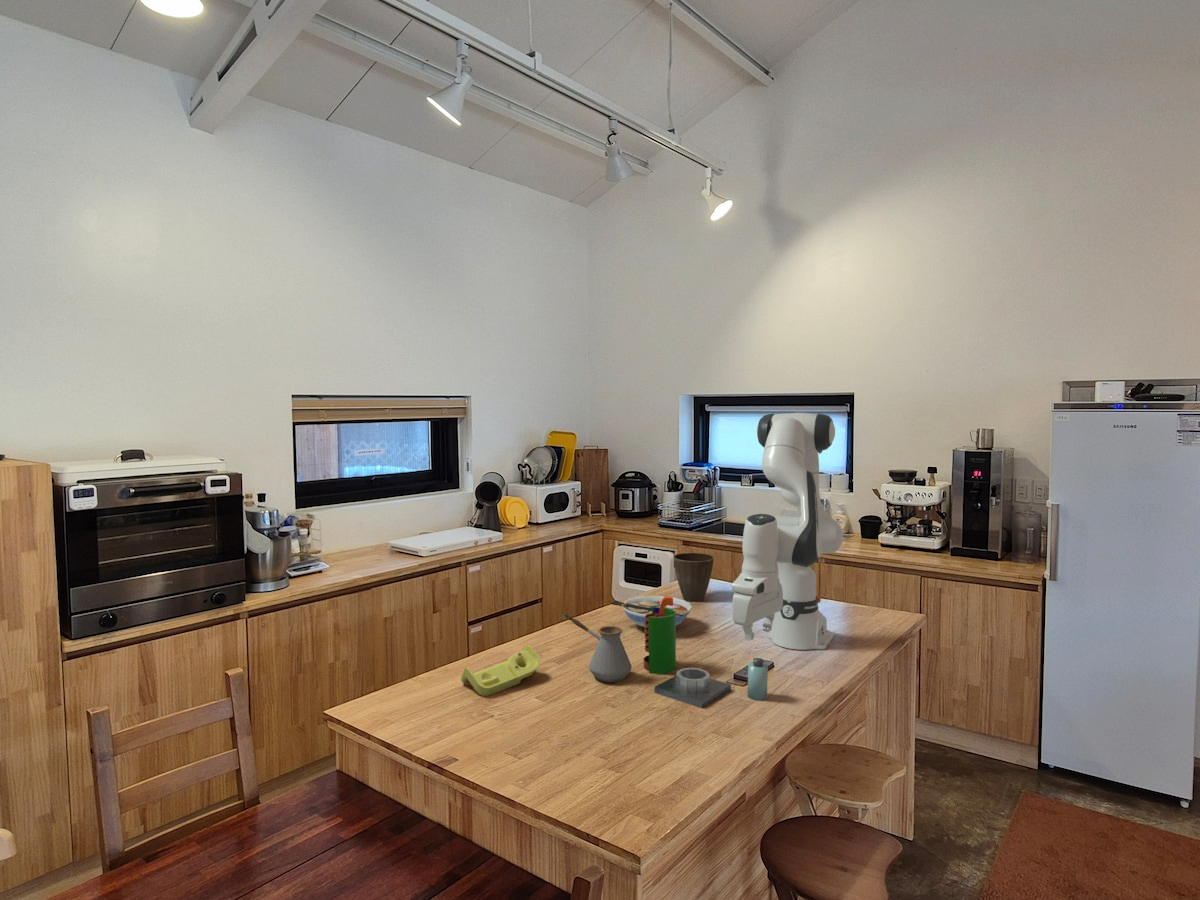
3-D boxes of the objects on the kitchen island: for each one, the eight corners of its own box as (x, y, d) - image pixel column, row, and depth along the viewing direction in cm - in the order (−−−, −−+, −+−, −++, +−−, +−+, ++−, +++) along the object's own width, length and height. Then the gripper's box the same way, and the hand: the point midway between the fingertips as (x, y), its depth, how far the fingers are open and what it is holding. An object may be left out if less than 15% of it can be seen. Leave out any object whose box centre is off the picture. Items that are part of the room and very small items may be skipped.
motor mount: (684, 676, 193) (685, 660, 192) (730, 690, 184) (731, 673, 183) (654, 692, 182) (654, 675, 182) (701, 707, 173) (701, 689, 173)
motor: (641, 661, 204) (641, 592, 202) (672, 660, 204) (672, 591, 203) (646, 674, 194) (647, 602, 192) (679, 673, 194) (679, 601, 193)
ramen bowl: (706, 624, 237) (706, 600, 236) (675, 644, 218) (675, 618, 217) (640, 612, 250) (640, 589, 250) (605, 629, 231) (605, 605, 230)
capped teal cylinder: (753, 690, 183) (754, 654, 183) (770, 695, 180) (771, 659, 179) (744, 696, 180) (744, 659, 179) (761, 702, 176) (762, 664, 176)
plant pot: (671, 603, 261) (672, 560, 260) (674, 592, 276) (674, 551, 275) (712, 605, 259) (713, 562, 258) (713, 594, 273) (714, 553, 272)
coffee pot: (639, 674, 194) (639, 620, 193) (617, 688, 184) (618, 631, 183) (573, 658, 205) (573, 607, 204) (550, 671, 195) (550, 617, 194)
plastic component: (483, 690, 177) (463, 663, 183) (478, 711, 180) (459, 684, 186) (547, 665, 190) (526, 641, 196) (541, 685, 193) (521, 660, 199)
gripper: (767, 571, 188) (766, 623, 188) (728, 585, 172) (726, 642, 173) (789, 575, 184) (788, 628, 184) (751, 590, 168) (750, 647, 169)
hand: (758, 635), depth 178 cm, fingers open, 8 cm apart
